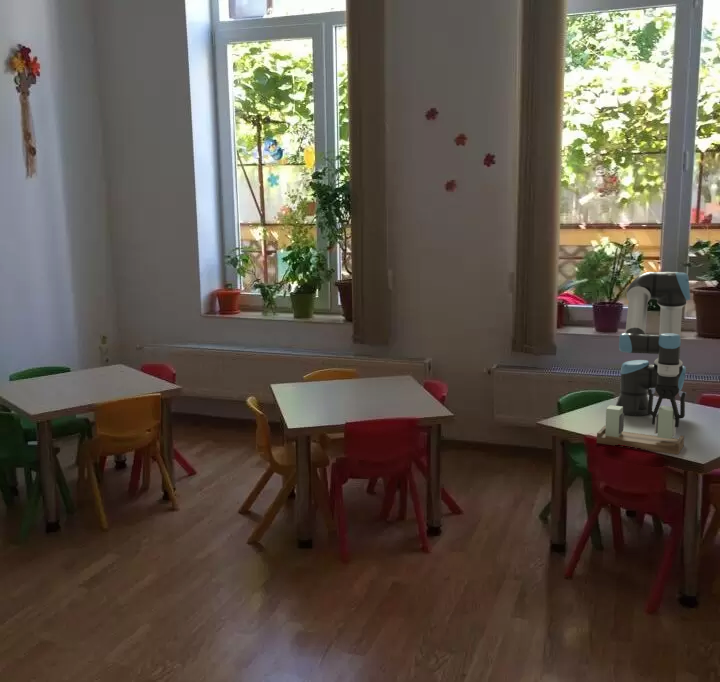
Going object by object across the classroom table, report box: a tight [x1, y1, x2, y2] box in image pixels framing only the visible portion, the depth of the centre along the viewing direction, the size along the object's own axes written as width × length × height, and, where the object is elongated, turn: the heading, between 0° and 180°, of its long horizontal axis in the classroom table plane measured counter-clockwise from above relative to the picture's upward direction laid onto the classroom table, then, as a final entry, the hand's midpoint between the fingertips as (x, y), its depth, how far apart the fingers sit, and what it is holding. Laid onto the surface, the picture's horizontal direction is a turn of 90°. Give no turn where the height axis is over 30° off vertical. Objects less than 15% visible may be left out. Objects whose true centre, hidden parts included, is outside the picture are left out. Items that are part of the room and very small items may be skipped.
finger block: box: [656, 405, 675, 439], centre depth 287 cm, size 6×6×11 cm
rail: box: [596, 425, 685, 455], centre depth 293 cm, size 12×30×4 cm, turn 58°
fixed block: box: [605, 404, 625, 437], centre depth 297 cm, size 6×6×11 cm
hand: (664, 433), depth 288 cm, fingers closed on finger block, 6 cm apart
